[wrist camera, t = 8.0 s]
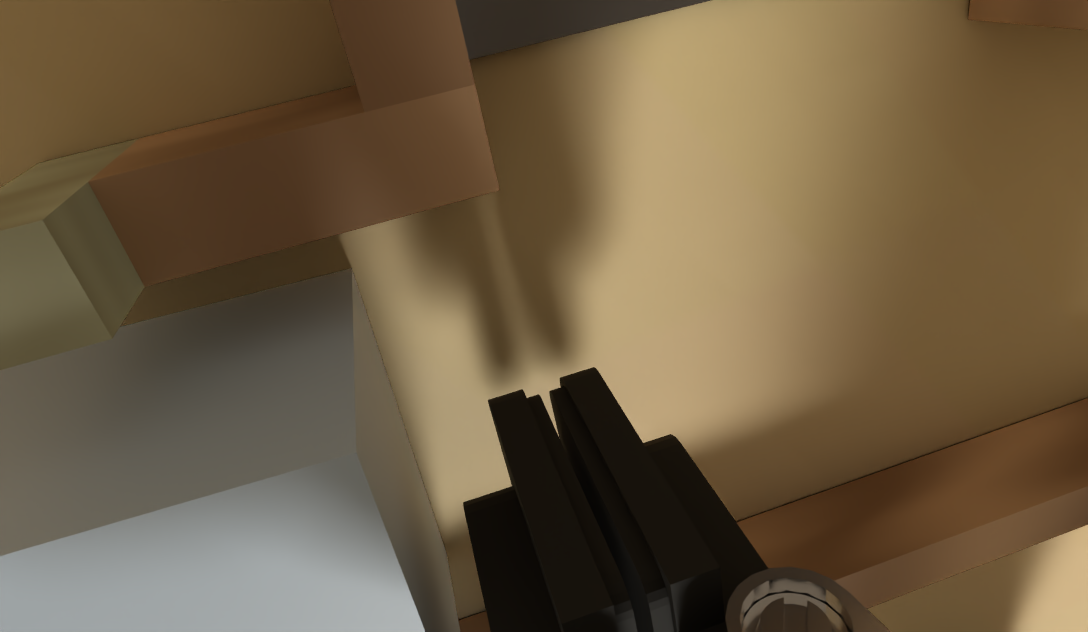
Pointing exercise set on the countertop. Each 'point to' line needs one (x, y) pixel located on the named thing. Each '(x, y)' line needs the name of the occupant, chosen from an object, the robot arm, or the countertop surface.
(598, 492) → the robot arm
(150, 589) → the slate block
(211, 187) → the brown wooden open frame
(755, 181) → the countertop surface
